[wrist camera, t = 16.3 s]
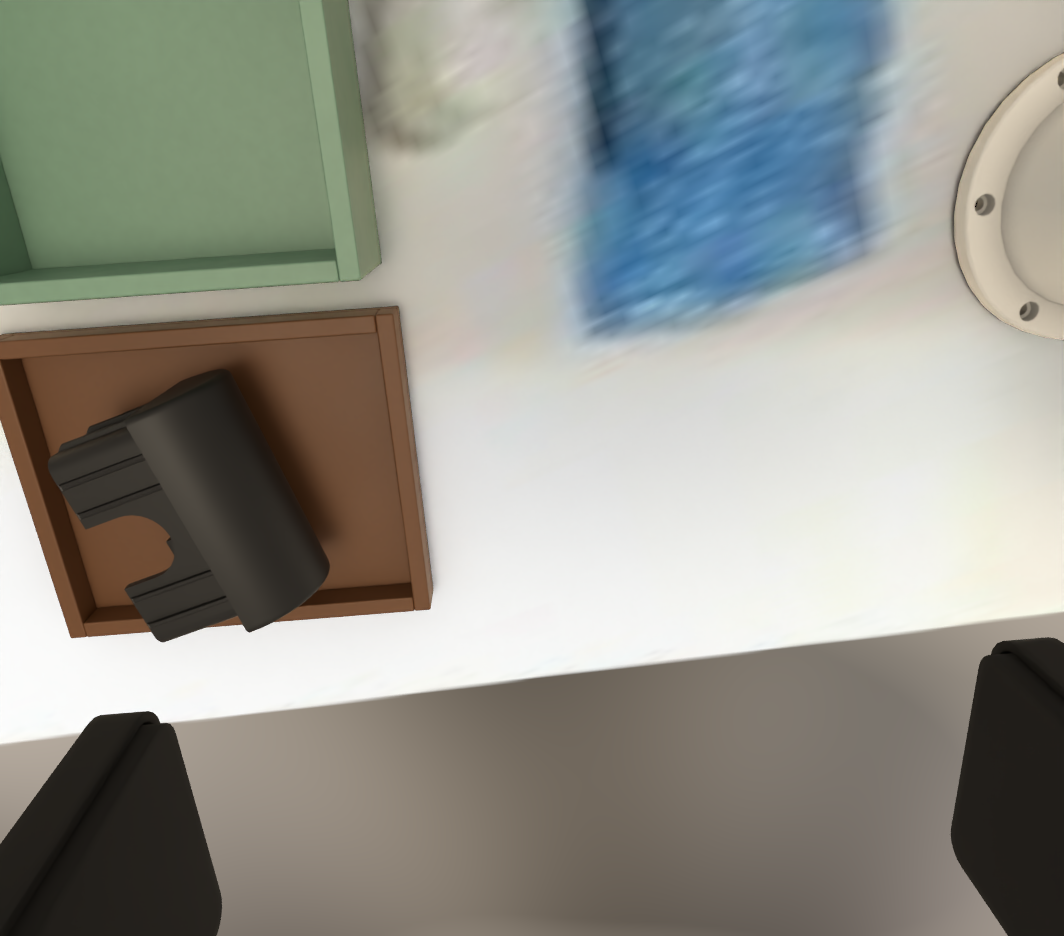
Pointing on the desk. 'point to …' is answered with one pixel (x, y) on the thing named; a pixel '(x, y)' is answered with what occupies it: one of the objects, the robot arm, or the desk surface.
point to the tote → (180, 148)
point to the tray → (286, 422)
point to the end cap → (198, 507)
